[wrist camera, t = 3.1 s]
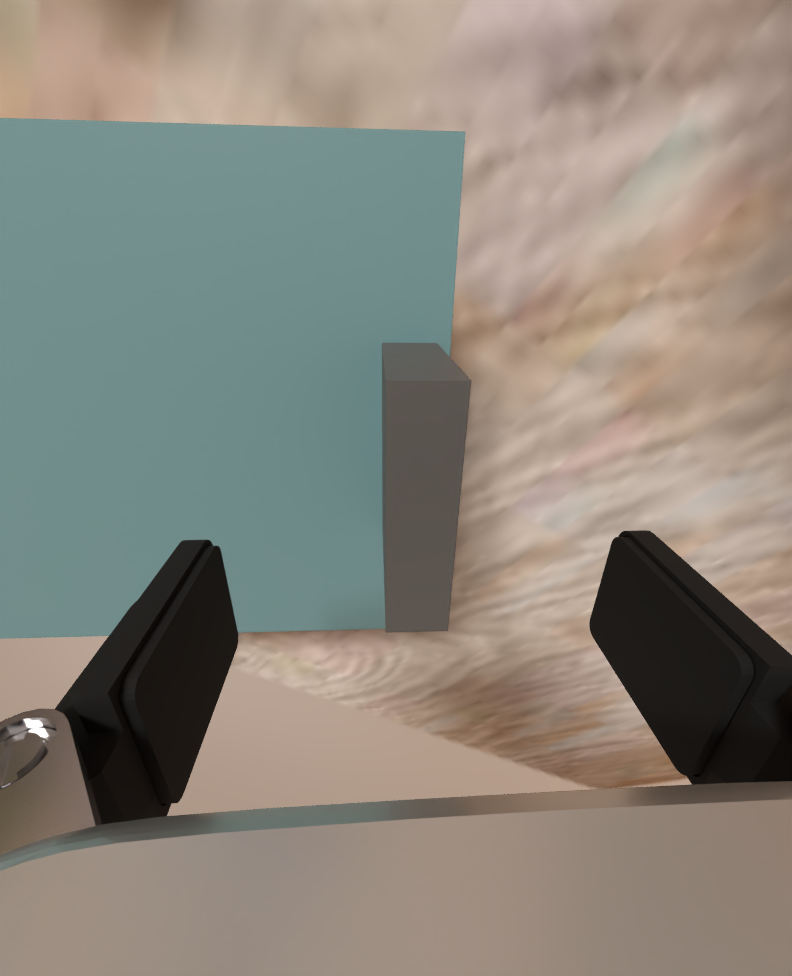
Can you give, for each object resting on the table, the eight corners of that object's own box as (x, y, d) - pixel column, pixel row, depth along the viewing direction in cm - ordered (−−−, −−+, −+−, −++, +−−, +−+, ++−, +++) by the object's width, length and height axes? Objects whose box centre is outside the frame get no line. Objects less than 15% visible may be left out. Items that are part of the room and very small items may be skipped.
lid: (460, 139, 13) (533, 25, 7) (429, 616, 22) (449, 743, 16) (-404, 114, 12) (-1193, -47, 6) (-64, 628, 21) (-239, 770, 15)
